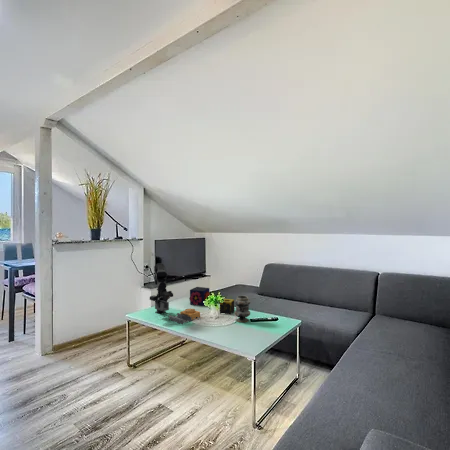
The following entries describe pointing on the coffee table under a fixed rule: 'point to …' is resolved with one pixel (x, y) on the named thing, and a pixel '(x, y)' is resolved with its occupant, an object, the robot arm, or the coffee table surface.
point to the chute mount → (180, 318)
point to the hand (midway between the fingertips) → (161, 307)
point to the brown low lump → (191, 313)
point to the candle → (227, 306)
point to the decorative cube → (198, 295)
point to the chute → (162, 306)
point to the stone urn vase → (242, 308)
